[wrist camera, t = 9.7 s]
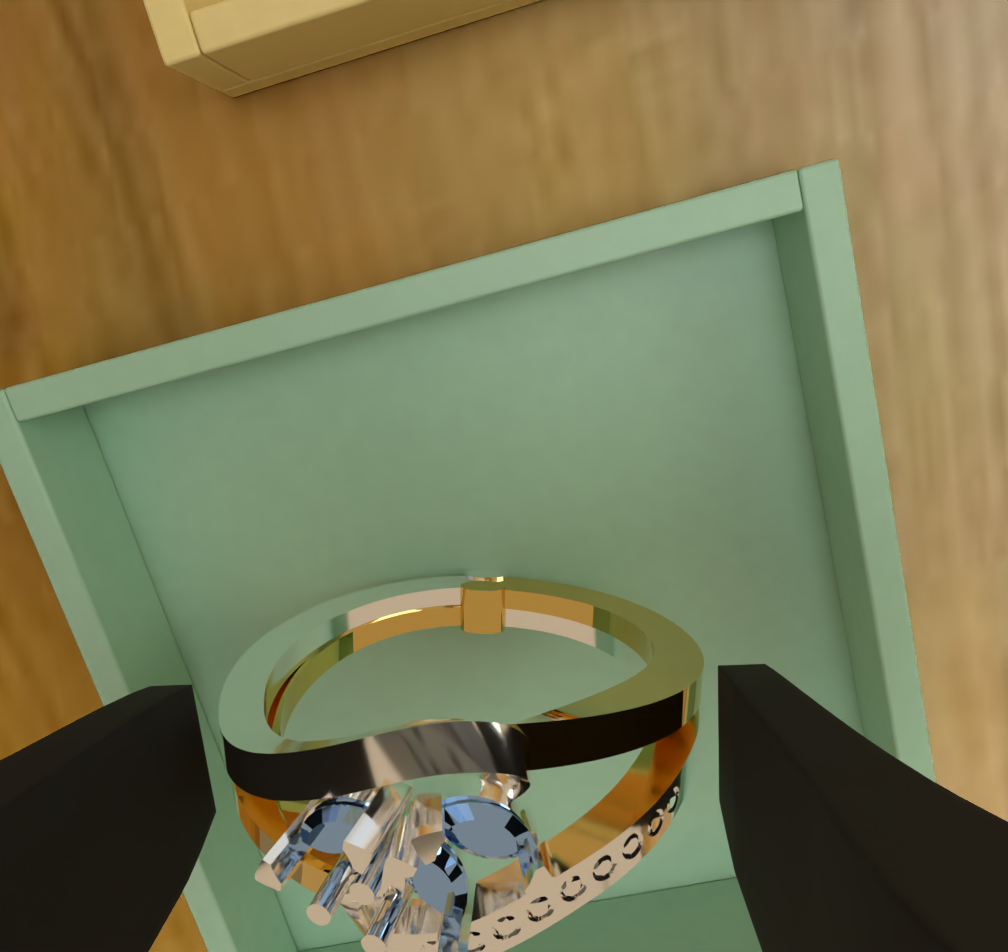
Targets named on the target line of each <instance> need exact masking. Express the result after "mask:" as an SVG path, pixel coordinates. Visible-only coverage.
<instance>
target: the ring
mask: <svg viewBox="0 0 1008 952" xmlns="http://www.w3.org/2000/svg"><path fill="white" fill-rule="evenodd" d="M446 626H460V629H461V630H462V631H465V632H469V633H475V634H495V633H500V632H503V631H504V630H505V627H516V628H524V629H531V630H537V631H543V632H548V633H552V634H557V635H561V636H564V637H568V638H571V639H574V640H577V641H580V642H583V643H586V644H588V645H591V646H593V647H595V648H597V649H600V650H602V651H604V652H606V653H607V654H609V655H611V656H613V657H614V658H616V659H618V660H619V661H621V662H622V663H623V664H625V665H626V666H627V667H629V668H630V669H631V670H632V671H633V672H634V673H635V674H636V675H635V676H633V677H631V678H629V679H628V680H626V681H624V682H622V683H620V684H618V685H615V686H613V687H611V688H609V689H607V690H604V691H602V692H599V693H597V694H594V695H592V696H589V697H587V698H584V699H581V700H579V701H576V702H573V703H571V704H568V705H565V706H562V707H559V708H557V709H554V710H551V711H548V712H545V713H542V714H539V715H536V716H533V717H530V718H527V719H524V720H521V721H518V722H515V723H512V724H499V723H493V722H484V721H469V720H464V719H457V718H437V719H428V720H422V721H416V722H411V723H406V724H402V725H397V726H393V727H388V728H384V729H379V730H375V731H370V732H366V733H361V734H357V735H352V736H346V737H341V738H335V739H327V740H318V741H295V740H290V739H286V738H284V733H285V730H286V726H287V723H288V721H289V718H290V716H291V714H292V712H293V710H294V708H295V707H296V705H297V703H298V702H299V700H300V699H301V697H302V696H303V695H304V693H305V692H306V691H307V690H308V689H309V687H310V686H311V685H312V684H313V683H314V682H315V681H316V680H317V679H318V678H319V677H320V676H321V675H322V674H323V673H325V672H326V671H327V670H328V669H330V668H331V667H332V666H333V665H335V664H336V663H338V662H339V661H341V660H342V659H344V658H345V657H347V656H349V655H350V654H352V653H354V652H356V651H358V650H360V649H362V648H364V647H366V646H368V645H370V644H373V643H375V642H378V641H381V640H383V639H386V638H389V637H392V636H396V635H399V634H403V633H407V632H412V631H417V630H422V629H429V628H436V627H446ZM703 671H704V657H703V654H702V651H701V649H700V648H699V646H698V645H697V643H696V642H695V641H694V640H693V638H692V637H691V636H690V635H689V634H688V633H686V632H685V631H684V630H683V629H682V628H680V627H679V626H678V625H676V624H675V623H673V622H672V621H670V620H669V619H667V618H665V617H664V616H662V615H660V614H658V613H656V612H654V611H652V610H650V609H648V608H646V607H643V606H641V605H638V604H636V603H633V602H631V601H628V600H625V599H622V598H619V597H616V596H613V595H610V594H606V593H603V592H599V591H595V590H591V589H586V588H582V587H577V586H572V585H567V584H561V583H555V582H548V581H540V580H532V579H522V578H511V577H507V573H505V572H502V571H497V570H470V571H466V572H465V573H464V576H445V577H433V578H423V579H415V580H408V581H401V582H396V583H390V584H385V585H381V586H376V587H372V588H368V589H364V590H361V591H357V592H354V593H351V594H347V595H344V596H341V597H338V598H336V599H333V600H330V601H328V602H325V603H323V604H320V605H318V606H315V607H313V608H311V609H309V610H307V611H305V612H302V613H300V614H298V615H297V616H295V617H293V618H291V619H289V620H287V621H286V622H284V623H282V624H281V625H279V626H277V627H276V628H274V629H273V630H271V631H270V632H268V633H267V634H266V635H264V636H263V637H262V638H260V639H259V640H258V641H257V642H255V643H254V644H253V645H252V646H251V647H250V648H249V649H248V650H247V651H246V652H245V653H244V654H243V655H242V656H241V657H240V659H239V660H238V661H237V662H236V664H235V665H234V667H233V668H232V670H231V672H230V673H229V675H228V677H227V679H226V681H225V684H224V687H223V690H222V693H221V697H220V702H219V711H218V718H219V728H220V737H221V746H222V755H223V761H224V765H225V768H226V771H227V773H228V775H229V776H230V779H231V786H232V793H233V798H234V802H235V806H236V809H237V812H238V815H239V817H240V819H241V822H242V824H243V826H244V828H245V829H246V831H247V833H248V834H249V836H250V837H251V839H252V840H253V842H254V843H255V844H256V846H257V847H258V848H259V849H260V850H261V852H262V853H263V854H264V855H265V857H264V858H263V859H262V861H261V863H260V864H259V866H258V868H257V871H256V873H255V880H257V881H258V882H260V883H262V884H264V885H266V886H268V887H271V888H273V889H276V890H278V891H281V890H282V888H283V887H284V886H285V884H286V883H287V882H288V880H289V879H290V878H292V879H293V880H295V881H296V882H298V883H299V884H301V885H302V886H304V887H306V888H307V889H309V890H311V891H312V892H314V893H316V894H315V896H314V898H313V899H312V901H311V903H310V904H309V906H308V908H307V911H306V912H307V916H308V918H309V919H310V920H311V921H312V922H313V923H315V924H317V925H321V926H324V925H327V924H328V923H329V922H330V920H331V919H332V917H333V915H334V913H335V912H336V910H337V908H338V906H339V905H341V906H343V908H344V910H345V911H346V912H347V914H348V915H349V916H350V918H351V919H352V920H353V922H354V923H355V924H356V926H357V927H358V928H359V930H360V931H361V932H362V934H363V935H364V936H363V938H362V940H361V945H362V947H363V949H364V950H365V951H366V952H503V951H505V950H507V949H510V948H512V947H514V946H516V945H518V944H520V943H521V942H523V941H525V940H527V939H529V938H531V937H532V936H534V935H536V934H538V933H539V932H541V931H543V930H545V929H546V928H548V927H550V926H551V925H553V924H555V923H556V922H558V921H559V920H561V919H563V918H564V917H566V916H567V915H569V914H570V913H572V912H574V911H575V910H577V909H578V908H580V907H581V906H583V905H584V904H586V903H587V902H589V901H590V900H592V899H593V898H595V897H596V896H598V895H599V894H600V893H602V892H603V891H605V890H606V889H607V888H609V887H610V886H611V885H613V884H614V883H615V882H616V881H618V880H619V879H620V878H621V877H623V876H624V875H625V874H626V873H627V872H629V871H630V870H631V869H632V868H633V867H634V866H635V865H636V864H637V863H638V862H639V861H640V860H641V859H642V858H643V857H644V856H645V855H646V854H647V853H648V852H649V851H650V850H651V849H652V848H653V846H654V845H655V844H656V843H657V842H658V840H659V839H660V838H661V836H662V835H663V834H664V832H665V831H666V830H667V828H668V827H669V825H670V824H671V822H672V820H673V819H674V817H675V815H676V814H677V812H678V810H679V808H680V806H681V804H682V802H683V800H684V797H685V795H686V793H687V790H688V787H689V785H690V782H691V779H692V775H693V772H694V768H695V764H696V758H697V752H698V743H699V734H700V725H701V715H702V685H703ZM642 747H643V749H642V751H641V752H640V754H639V756H638V757H637V759H636V760H635V762H634V763H633V764H632V766H631V767H630V769H629V770H628V771H627V773H626V774H625V775H624V776H623V778H622V779H621V780H620V781H619V782H618V783H617V784H616V786H615V787H614V788H613V789H612V790H611V791H610V792H609V793H608V794H607V795H606V796H605V797H604V798H603V799H602V800H601V801H599V802H598V803H597V804H596V805H595V806H594V807H593V808H592V809H590V810H589V811H588V812H587V813H585V814H584V815H583V816H582V817H580V818H579V819H578V820H577V821H575V822H574V823H573V824H571V825H570V826H568V827H567V828H566V829H564V830H563V831H561V832H560V833H558V834H557V835H555V836H554V837H552V838H551V839H549V840H548V841H546V842H545V838H544V834H543V830H542V826H541V823H540V821H539V819H538V817H537V816H536V814H535V812H534V811H533V809H532V808H531V807H530V806H528V807H526V808H524V809H523V807H522V806H521V804H520V803H519V801H518V800H517V799H516V798H518V797H519V796H521V795H522V794H523V793H525V792H526V791H527V790H528V789H529V787H530V770H539V769H547V768H555V767H562V766H568V765H574V764H580V763H585V762H590V761H595V760H600V759H604V758H608V757H612V756H616V755H620V754H623V753H626V752H630V751H633V750H636V749H639V748H642ZM445 774H452V775H450V776H448V777H447V778H445V779H443V778H442V775H445ZM423 777H426V778H423ZM417 778H423V779H420V780H417V781H415V782H414V789H413V787H411V786H409V785H407V784H405V783H403V781H407V780H412V779H417ZM413 790H414V791H413ZM471 854H472V855H475V856H477V857H481V858H487V859H510V858H516V857H518V858H519V859H517V860H516V861H514V862H512V863H510V864H509V865H507V866H505V867H503V868H502V869H500V870H498V871H496V872H494V873H492V874H490V875H488V876H486V877H484V878H482V879H480V880H478V881H476V879H477V878H475V877H471V876H470V875H471V868H472V858H471ZM413 892H414V893H415V894H416V895H417V896H418V897H419V898H417V899H413V898H411V896H412V894H413Z"/></svg>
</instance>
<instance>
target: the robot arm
mask: <svg viewBox="0 0 1008 952" xmlns="http://www.w3.org/2000/svg"><path fill="white" fill-rule="evenodd" d="M718 740H719V802H720V807H721V812H722V816H723V821H724V826H725V831H726V835H727V840H728V845H729V849H730V853H731V858H732V862H733V867H734V871H735V874H736V877H737V880H738V883H739V886H740V889H741V892H742V895H743V898H744V900H745V903H746V906H747V909H748V912H749V915H750V918H751V921H752V924H753V926H754V929H755V932H756V935H757V938H758V941H759V944H760V946H761V949H762V952H1008V822H1007V821H1005V820H1003V819H1001V818H999V817H997V816H995V815H993V814H992V813H990V812H988V811H986V810H984V809H982V808H980V807H978V806H976V805H975V804H973V803H971V802H969V801H967V800H965V799H963V798H961V797H959V796H958V795H956V794H954V793H952V792H951V791H949V790H947V789H945V788H944V787H942V786H940V785H939V784H937V783H935V782H933V781H932V780H930V779H929V778H927V777H925V776H924V775H922V774H921V773H919V772H917V771H916V770H914V769H913V768H911V767H910V766H908V765H906V764H905V763H903V762H902V761H900V760H898V759H897V758H895V757H894V756H892V755H890V754H889V753H887V752H886V751H885V750H883V749H882V748H880V747H879V746H877V745H876V744H874V743H873V742H871V741H870V740H868V739H867V738H865V737H864V736H862V735H861V734H860V733H858V732H857V731H855V730H854V729H853V728H851V727H850V726H848V725H847V724H846V723H844V722H843V721H841V720H840V719H839V718H837V717H836V716H835V715H833V714H832V713H831V712H829V711H828V710H827V709H825V708H824V707H822V706H821V705H820V704H819V703H817V702H816V701H815V700H813V699H812V698H811V697H809V696H808V695H807V694H805V693H804V692H803V691H801V690H800V689H799V688H798V687H796V686H795V685H794V684H792V683H791V682H790V681H788V680H787V679H786V678H784V677H783V676H782V675H780V674H779V673H778V672H776V671H775V670H774V669H772V668H771V667H769V666H768V665H766V664H746V665H718ZM215 814H216V807H215V802H214V797H213V791H212V786H211V781H210V776H209V770H208V765H207V760H206V755H205V749H204V744H203V739H202V734H201V729H200V723H199V718H198V713H197V708H196V702H195V697H194V692H193V687H192V685H165V686H149V687H146V688H144V689H141V690H138V691H136V692H133V693H131V694H129V695H126V696H124V697H122V698H120V699H118V700H116V701H114V702H112V703H110V704H108V705H106V706H104V707H102V708H100V709H98V710H96V711H94V712H92V713H90V714H88V715H86V716H84V717H82V718H80V719H78V720H76V721H75V722H73V723H71V724H69V725H67V726H65V727H63V728H61V729H59V730H57V731H56V732H54V733H52V734H50V735H48V736H46V737H44V738H42V739H40V740H38V741H37V742H35V743H33V744H31V745H29V746H27V747H25V748H23V749H21V750H20V751H18V752H16V753H14V754H12V755H10V756H8V757H6V758H4V759H2V760H0V952H148V951H149V949H150V948H151V946H152V944H153V943H154V941H155V939H156V937H157V936H158V934H159V932H160V930H161V929H162V927H163V925H164V923H165V922H166V920H167V918H168V916H169V914H170V913H171V911H172V909H173V907H174V906H175V904H176V902H177V900H178V899H179V897H180V895H181V893H182V891H183V889H184V888H185V886H186V884H187V882H188V880H189V878H190V876H191V873H192V871H193V869H194V866H195V864H196V862H197V859H198V857H199V855H200V852H201V850H202V848H203V845H204V842H205V840H206V837H207V835H208V832H209V829H210V827H211V824H212V822H213V819H214V816H215Z"/></svg>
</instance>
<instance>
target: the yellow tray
mask: <svg viewBox="0 0 1008 952" xmlns="http://www.w3.org/2000/svg"><path fill="white" fill-rule="evenodd" d="M538 1H541V0H143V2H144V5H145V8H146V11H147V14H148V17H149V20H150V23H151V26H152V29H153V32H154V35H155V38H156V41H157V44H158V47H159V50H160V53H161V56H162V59H163V62H164V64H165V65H166V66H167V67H169V68H171V69H173V70H175V71H177V72H179V73H181V74H184V75H186V76H188V77H190V78H192V79H194V80H196V81H198V82H200V83H202V84H204V85H206V86H209V87H211V88H213V89H215V90H217V91H220V92H221V93H223V94H226V95H228V96H230V97H236V96H240V95H243V94H246V93H249V92H252V91H256V90H259V89H262V88H265V87H268V86H271V85H275V84H278V83H281V82H284V81H287V80H290V79H294V78H297V77H300V76H303V75H306V74H309V73H313V72H316V71H319V70H322V69H325V68H328V67H332V66H335V65H338V64H341V63H344V62H347V61H351V60H354V59H357V58H360V57H363V56H366V55H370V54H373V53H376V52H379V51H382V50H385V49H389V48H392V47H395V46H398V45H401V44H404V43H408V42H411V41H414V40H417V39H420V38H423V37H427V36H430V35H433V34H436V33H439V32H443V31H446V30H449V29H452V28H455V27H458V26H462V25H465V24H468V23H471V22H474V21H477V20H481V19H484V18H487V17H490V16H493V15H496V14H500V13H503V12H506V11H509V10H512V9H515V8H519V7H522V6H525V5H528V4H531V3H534V2H538Z"/></svg>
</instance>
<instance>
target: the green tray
mask: <svg viewBox="0 0 1008 952" xmlns="http://www.w3.org/2000/svg"><path fill="white" fill-rule="evenodd" d="M0 464H1V467H2V469H3V471H4V474H5V476H6V478H7V481H8V483H9V485H10V488H11V490H12V492H13V495H14V497H15V499H16V502H17V504H18V506H19V509H20V511H21V513H22V516H23V518H24V520H25V523H26V525H27V528H28V530H29V532H30V535H31V537H32V539H33V542H34V544H35V546H36V549H37V551H38V553H39V556H40V558H41V560H42V563H43V565H44V567H45V570H46V572H47V574H48V577H49V579H50V582H51V584H52V586H53V589H54V591H55V593H56V596H57V598H58V600H59V603H60V605H61V607H62V610H63V612H64V614H65V617H66V619H67V621H68V624H69V626H70V628H71V631H72V633H73V635H74V638H75V640H76V643H77V645H78V647H79V650H80V652H81V654H82V657H83V659H84V661H85V664H86V666H87V668H88V671H89V673H90V675H91V678H92V680H93V682H94V685H95V687H96V689H97V692H98V694H99V697H100V699H101V701H102V704H103V706H106V705H108V704H110V703H112V702H114V701H116V700H118V699H120V698H122V697H124V696H126V695H129V694H131V693H133V692H136V691H138V690H141V689H144V688H146V687H149V686H165V685H192V687H193V692H194V697H195V702H196V708H197V713H198V718H199V723H200V729H201V734H202V739H203V744H204V749H205V755H206V760H207V765H208V770H209V776H210V781H211V786H212V791H213V797H214V802H215V807H216V814H215V816H214V819H213V822H212V824H211V827H210V829H209V832H208V835H207V837H206V840H205V842H204V845H203V848H202V850H201V852H200V855H199V857H198V859H197V862H196V864H195V866H194V869H193V871H192V873H191V876H190V878H189V880H188V882H187V884H186V886H185V888H184V889H183V894H184V896H185V898H186V901H187V903H188V905H189V908H190V910H191V912H192V915H193V917H194V919H195V922H196V924H197V926H198V929H199V931H200V934H201V936H202V938H203V941H204V943H205V945H206V948H207V950H208V952H366V951H365V950H364V949H363V947H362V945H361V940H362V938H363V936H364V935H363V934H362V932H361V931H360V930H359V928H358V927H357V926H356V924H355V923H354V922H353V920H352V919H351V918H350V916H349V915H348V914H347V912H346V911H345V910H344V908H343V906H341V905H339V906H338V908H337V910H336V912H335V913H334V915H333V917H332V919H331V920H330V922H329V923H328V924H327V925H324V926H321V925H317V924H315V923H313V922H312V921H311V920H310V919H309V918H308V916H307V912H306V911H307V908H308V906H309V904H310V903H311V901H312V899H313V898H314V896H315V894H316V893H314V892H312V891H311V890H309V889H307V888H306V887H304V886H302V885H301V884H299V883H298V882H296V881H295V880H293V879H292V878H290V879H289V880H288V882H287V883H286V884H285V886H284V887H283V888H282V890H281V891H278V890H276V889H273V888H271V887H268V886H266V885H264V884H262V883H260V882H258V881H257V880H255V873H256V871H257V868H258V866H259V864H260V863H261V861H262V859H263V858H264V857H265V855H264V854H263V853H262V852H261V850H260V849H259V848H258V847H257V846H256V844H255V843H254V842H253V840H252V839H251V837H250V836H249V834H248V833H247V831H246V829H245V828H244V826H243V824H242V822H241V819H240V817H239V815H238V812H237V809H236V806H235V802H234V798H233V793H232V786H231V779H230V776H229V775H228V773H227V771H226V768H225V765H224V761H223V755H222V746H221V737H220V728H219V718H218V711H219V702H220V697H221V693H222V690H223V687H224V684H225V681H226V679H227V677H228V675H229V673H230V672H231V670H232V668H233V667H234V665H235V664H236V662H237V661H238V660H239V659H240V657H241V656H242V655H243V654H244V653H245V652H246V651H247V650H248V649H249V648H250V647H251V646H252V645H253V644H254V643H255V642H257V641H258V640H259V639H260V638H262V637H263V636H264V635H266V634H267V633H268V632H270V631H271V630H273V629H274V628H276V627H277V626H279V625H281V624H282V623H284V622H286V621H287V620H289V619H291V618H293V617H295V616H297V615H298V614H300V613H302V612H305V611H307V610H309V609H311V608H313V607H315V606H318V605H320V604H323V603H325V602H328V601H330V600H333V599H336V598H338V597H341V596H344V595H347V594H351V593H354V592H357V591H361V590H364V589H368V588H372V587H376V586H381V585H385V584H390V583H396V582H401V581H408V580H415V579H423V578H433V577H445V576H464V573H465V572H466V571H470V570H497V571H502V572H505V573H507V577H511V578H522V579H532V580H540V581H548V582H555V583H561V584H567V585H572V586H577V587H582V588H586V589H591V590H595V591H599V592H603V593H606V594H610V595H613V596H616V597H619V598H622V599H625V600H628V601H631V602H633V603H636V604H638V605H641V606H643V607H646V608H648V609H650V610H652V611H654V612H656V613H658V614H660V615H662V616H664V617H665V618H667V619H669V620H670V621H672V622H673V623H675V624H676V625H678V626H679V627H680V628H682V629H683V630H684V631H685V632H686V633H688V634H689V635H690V636H691V637H692V638H693V640H694V641H695V642H696V643H697V645H698V646H699V648H700V649H701V651H702V654H703V657H704V671H703V685H702V715H701V725H700V734H699V743H698V752H697V758H696V764H695V768H694V772H693V775H692V779H691V782H690V785H689V787H688V790H687V793H686V795H685V797H684V800H683V802H682V804H681V806H680V808H679V810H678V812H677V814H676V815H675V817H674V819H673V820H672V822H671V824H670V825H669V827H668V828H667V830H666V831H665V832H664V834H663V835H662V836H661V838H660V839H659V840H658V842H657V843H656V844H655V845H654V846H653V848H652V849H651V850H650V851H649V852H648V853H647V854H646V855H645V856H644V857H643V858H642V859H641V860H640V861H639V862H638V863H637V864H636V865H635V866H634V867H633V868H632V869H631V870H630V871H629V872H627V873H626V874H625V875H624V876H623V877H621V878H620V879H619V880H618V881H616V882H615V883H614V884H613V885H611V886H610V887H609V888H607V889H606V890H605V891H603V892H602V893H600V894H599V895H598V896H596V897H595V898H593V899H592V900H590V901H589V902H587V903H586V904H584V905H583V906H581V907H580V908H578V909H577V910H575V911H574V912H572V913H570V914H569V915H567V916H566V917H564V918H563V919H561V920H559V921H558V922H556V923H555V924H553V925H551V926H550V927H548V928H546V929H545V930H543V931H541V932H539V933H538V934H536V935H534V936H532V937H531V938H529V939H527V940H525V941H523V942H521V943H520V944H518V945H516V946H514V947H512V948H510V949H507V950H505V951H503V952H762V949H761V946H760V944H759V941H758V938H757V935H756V932H755V929H754V926H753V924H752V921H751V918H750V915H749V912H748V909H747V906H746V903H745V900H744V898H743V895H742V892H741V889H740V886H739V883H738V880H737V877H736V874H735V871H734V867H733V862H732V858H731V853H730V849H729V845H728V840H727V835H726V831H725V826H724V821H723V816H722V812H721V807H720V802H719V740H718V665H746V664H766V665H768V666H769V667H771V668H772V669H774V670H775V671H776V672H778V673H779V674H780V675H782V676H783V677H784V678H786V679H787V680H788V681H790V682H791V683H792V684H794V685H795V686H796V687H798V688H799V689H800V690H801V691H803V692H804V693H805V694H807V695H808V696H809V697H811V698H812V699H813V700H815V701H816V702H817V703H819V704H820V705H821V706H822V707H824V708H825V709H827V710H828V711H829V712H831V713H832V714H833V715H835V716H836V717H837V718H839V719H840V720H841V721H843V722H844V723H846V724H847V725H848V726H850V727H851V728H853V729H854V730H855V731H857V732H858V733H860V734H861V735H862V736H864V737H865V738H867V739H868V740H870V741H871V742H873V743H874V744H876V745H877V746H879V747H880V748H882V749H883V750H885V751H886V752H887V753H889V754H890V755H892V756H894V757H895V758H897V759H898V760H900V761H902V762H903V763H905V764H906V765H908V766H910V767H911V768H913V769H914V770H916V771H917V772H919V773H921V774H922V775H924V776H925V777H927V778H929V779H930V780H932V781H933V782H935V783H936V779H935V773H934V767H933V760H932V754H931V747H930V741H929V735H928V728H927V722H926V715H925V709H924V703H923V696H922V690H921V683H920V677H919V671H918V664H917V658H916V651H915V645H914V639H913V632H912V626H911V619H910V613H909V607H908V600H907V594H906V587H905V581H904V575H903V568H902V562H901V555H900V549H899V543H898V536H897V530H896V523H895V517H894V510H893V504H892V498H891V491H890V485H889V478H888V472H887V466H886V459H885V453H884V446H883V440H882V434H881V427H880V421H879V414H878V408H877V402H876V395H875V389H874V382H873V376H872V370H871V363H870V357H869V350H868V344H867V338H866V331H865V325H864V318H863V312H862V306H861V299H860V293H859V286H858V280H857V274H856V267H855V261H854V254H853V248H852V241H851V235H850V229H849V222H848V216H847V209H846V203H845V197H844V190H843V184H842V177H841V171H840V165H839V161H838V160H837V159H830V160H826V161H823V162H819V163H816V164H812V165H808V166H805V167H801V168H799V169H796V170H790V171H787V172H783V173H779V174H776V175H772V176H769V177H765V178H761V179H758V180H754V181H751V182H747V183H743V184H740V185H736V186H733V187H729V188H725V189H722V190H718V191H715V192H711V193H707V194H704V195H700V196H696V197H693V198H689V199H686V200H682V201H678V202H675V203H671V204H668V205H664V206H660V207H657V208H653V209H650V210H646V211H642V212H639V213H635V214H631V215H628V216H624V217H621V218H617V219H613V220H610V221H606V222H603V223H599V224H595V225H592V226H588V227H585V228H581V229H577V230H574V231H570V232H566V233H563V234H559V235H556V236H552V237H548V238H545V239H541V240H538V241H534V242H530V243H527V244H523V245H520V246H516V247H512V248H509V249H505V250H502V251H498V252H494V253H491V254H487V255H483V256H480V257H476V258H473V259H469V260H465V261H462V262H458V263H455V264H451V265H447V266H444V267H440V268H437V269H433V270H429V271H426V272H422V273H418V274H415V275H411V276H408V277H404V278H400V279H397V280H393V281H390V282H386V283H382V284H379V285H375V286H372V287H368V288H364V289H361V290H357V291H353V292H350V293H346V294H343V295H339V296H335V297H332V298H328V299H325V300H321V301H317V302H314V303H310V304H307V305H303V306H299V307H296V308H292V309H289V310H285V311H281V312H278V313H274V314H270V315H267V316H263V317H260V318H256V319H252V320H249V321H245V322H242V323H238V324H234V325H231V326H227V327H224V328H220V329H216V330H213V331H209V332H205V333H202V334H198V335H195V336H191V337H187V338H184V339H180V340H177V341H173V342H169V343H166V344H162V345H159V346H155V347H151V348H148V349H144V350H140V351H137V352H133V353H130V354H126V355H122V356H119V357H115V358H112V359H108V360H104V361H101V362H97V363H94V364H90V365H86V366H83V367H79V368H76V369H72V370H68V371H65V372H61V373H57V374H54V375H50V376H47V377H43V378H39V379H36V380H32V381H29V382H25V383H21V384H18V385H14V386H11V387H8V388H4V389H0ZM635 675H636V674H635V673H634V672H633V671H632V670H631V669H630V668H629V667H627V666H626V665H625V664H623V663H622V662H621V661H619V660H618V659H616V658H614V657H613V656H611V655H609V654H607V653H606V652H604V651H602V650H600V649H597V648H595V647H593V646H591V645H588V644H586V643H583V642H580V641H577V640H574V639H571V638H568V637H564V636H561V635H557V634H552V633H548V632H543V631H537V630H531V629H524V628H516V627H505V630H504V631H503V632H500V633H495V634H475V633H469V632H465V631H462V630H461V629H460V626H446V627H436V628H429V629H422V630H417V631H412V632H407V633H403V634H399V635H396V636H392V637H389V638H386V639H383V640H381V641H378V642H375V643H373V644H370V645H368V646H366V647H364V648H362V649H360V650H358V651H356V652H354V653H352V654H350V655H349V656H347V657H345V658H344V659H342V660H341V661H339V662H338V663H336V664H335V665H333V666H332V667H331V668H330V669H328V670H327V671H326V672H325V673H323V674H322V675H321V676H320V677H319V678H318V679H317V680H316V681H315V682H314V683H313V684H312V685H311V686H310V687H309V689H308V690H307V691H306V692H305V693H304V695H303V696H302V697H301V699H300V700H299V702H298V703H297V705H296V707H295V708H294V710H293V712H292V714H291V716H290V718H289V721H288V723H287V726H286V730H285V733H284V738H286V739H290V740H295V741H318V740H327V739H335V738H341V737H346V736H352V735H357V734H361V733H366V732H370V731H375V730H379V729H384V728H388V727H393V726H397V725H402V724H406V723H411V722H416V721H422V720H428V719H437V718H457V719H464V720H469V721H484V722H493V723H499V724H512V723H515V722H518V721H521V720H524V719H527V718H530V717H533V716H536V715H539V714H542V713H545V712H548V711H551V710H554V709H557V708H559V707H562V706H565V705H568V704H571V703H573V702H576V701H579V700H581V699H584V698H587V697H589V696H592V695H594V694H597V693H599V692H602V691H604V690H607V689H609V688H611V687H613V686H615V685H618V684H620V683H622V682H624V681H626V680H628V679H629V678H631V677H633V676H635ZM642 749H643V747H642V748H639V749H636V750H633V751H630V752H626V753H623V754H620V755H616V756H612V757H608V758H604V759H600V760H595V761H590V762H585V763H580V764H574V765H568V766H562V767H555V768H547V769H539V770H530V787H529V789H528V790H527V791H526V792H525V793H523V794H522V795H521V796H519V797H518V798H516V799H517V800H518V801H519V803H520V804H521V806H522V807H523V809H524V808H526V807H528V806H530V807H531V808H532V809H533V811H534V812H535V814H536V816H537V817H538V819H539V821H540V823H541V826H542V830H543V834H544V838H545V842H546V841H548V840H549V839H551V838H552V837H554V836H555V835H557V834H558V833H560V832H561V831H563V830H564V829H566V828H567V827H568V826H570V825H571V824H573V823H574V822H575V821H577V820H578V819H579V818H580V817H582V816H583V815H584V814H585V813H587V812H588V811H589V810H590V809H592V808H593V807H594V806H595V805H596V804H597V803H598V802H599V801H601V800H602V799H603V798H604V797H605V796H606V795H607V794H608V793H609V792H610V791H611V790H612V789H613V788H614V787H615V786H616V784H617V783H618V782H619V781H620V780H621V779H622V778H623V776H624V775H625V774H626V773H627V771H628V770H629V769H630V767H631V766H632V764H633V763H634V762H635V760H636V759H637V757H638V756H639V754H640V752H641V751H642ZM450 775H452V774H445V775H442V778H443V779H445V778H447V777H448V776H450ZM423 778H426V777H423ZM423 778H417V779H412V780H407V781H403V783H405V784H407V785H409V786H411V787H413V789H414V782H415V781H417V780H420V779H423ZM413 791H414V790H413ZM471 858H472V868H471V875H470V876H471V877H475V878H477V879H476V881H478V880H480V879H482V878H484V877H486V876H488V875H490V874H492V873H494V872H496V871H498V870H500V869H502V868H503V867H505V866H507V865H509V864H510V863H512V862H514V861H516V860H517V859H519V858H518V857H516V858H510V859H487V858H481V857H477V856H475V855H472V854H471ZM411 898H413V899H417V898H419V897H418V896H417V895H416V894H415V893H414V892H413V894H412V896H411Z"/></svg>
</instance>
